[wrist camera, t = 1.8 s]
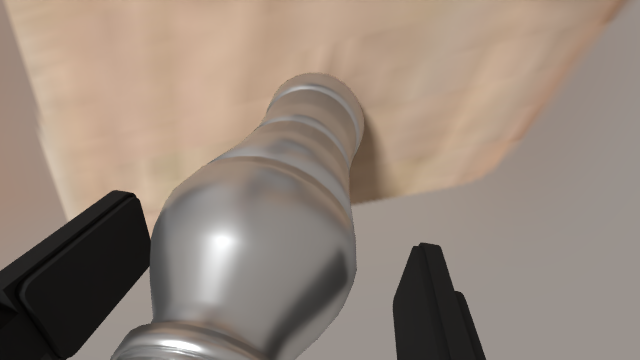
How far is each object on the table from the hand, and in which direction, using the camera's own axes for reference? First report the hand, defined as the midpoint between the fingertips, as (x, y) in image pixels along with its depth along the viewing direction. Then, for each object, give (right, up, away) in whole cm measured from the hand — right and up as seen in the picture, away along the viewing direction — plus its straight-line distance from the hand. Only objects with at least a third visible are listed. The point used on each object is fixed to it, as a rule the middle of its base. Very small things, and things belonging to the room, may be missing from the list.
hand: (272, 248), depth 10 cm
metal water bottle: (+2, +8, +12) cm, 14 cm away
